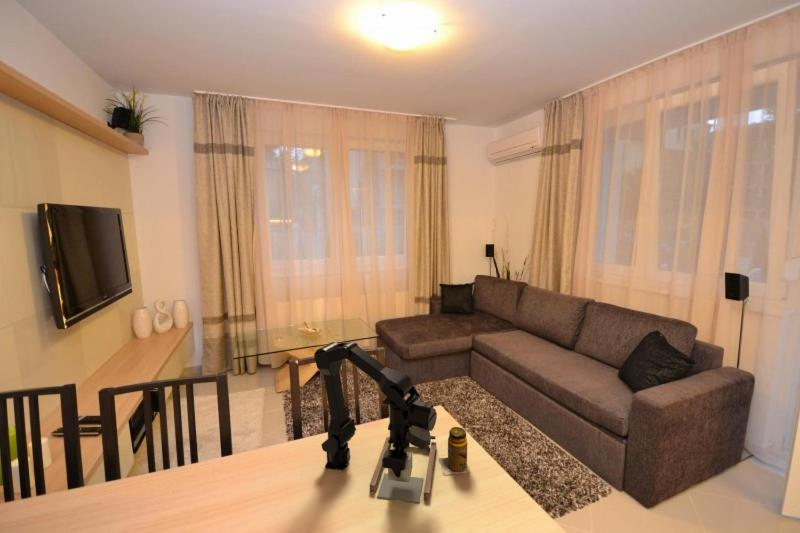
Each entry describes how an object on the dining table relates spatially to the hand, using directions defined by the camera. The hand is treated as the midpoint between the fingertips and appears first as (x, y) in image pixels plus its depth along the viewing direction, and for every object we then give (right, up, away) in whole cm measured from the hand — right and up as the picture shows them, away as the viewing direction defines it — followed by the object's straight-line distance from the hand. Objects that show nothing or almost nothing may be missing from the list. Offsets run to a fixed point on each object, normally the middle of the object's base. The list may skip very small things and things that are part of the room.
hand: (400, 468), depth 103 cm
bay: (+2, -5, +9) cm, 10 cm away
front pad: (0, -6, +1) cm, 6 cm away
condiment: (+17, -5, +10) cm, 20 cm away
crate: (0, -2, 0) cm, 2 cm away
